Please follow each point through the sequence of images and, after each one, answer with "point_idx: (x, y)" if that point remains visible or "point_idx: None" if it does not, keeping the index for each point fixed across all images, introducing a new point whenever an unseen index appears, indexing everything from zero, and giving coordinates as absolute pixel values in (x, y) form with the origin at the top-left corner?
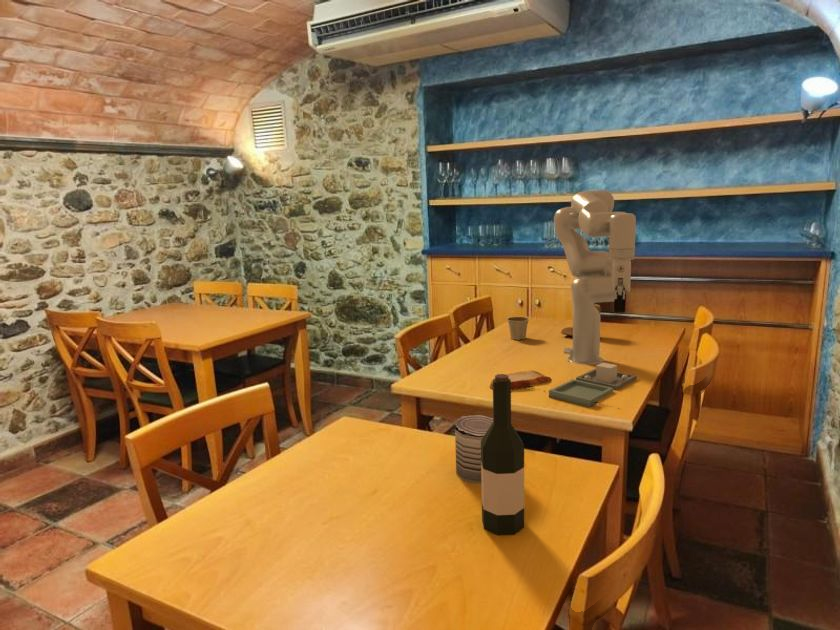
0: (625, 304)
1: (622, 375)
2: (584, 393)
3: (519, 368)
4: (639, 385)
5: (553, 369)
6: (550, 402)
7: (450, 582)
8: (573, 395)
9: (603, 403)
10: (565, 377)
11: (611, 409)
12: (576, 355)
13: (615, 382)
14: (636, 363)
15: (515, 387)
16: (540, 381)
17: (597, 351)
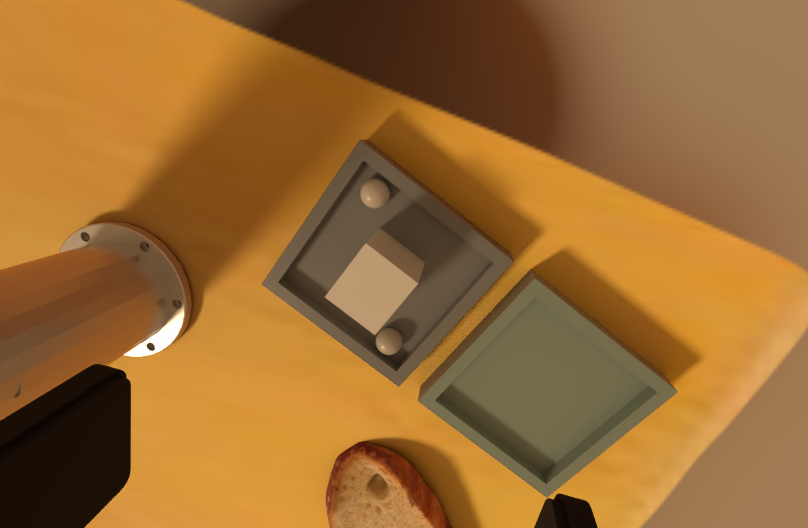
0: (102, 377)
1: (339, 196)
2: (546, 378)
3: (242, 508)
4: (412, 136)
5: (238, 413)
6: (595, 481)
7: None
8: (613, 434)
9: (624, 322)
10: (327, 391)
11: (695, 309)
12: (138, 344)
13: (414, 239)
14: (103, 79)
15: None
16: (427, 496)
17: (108, 268)
